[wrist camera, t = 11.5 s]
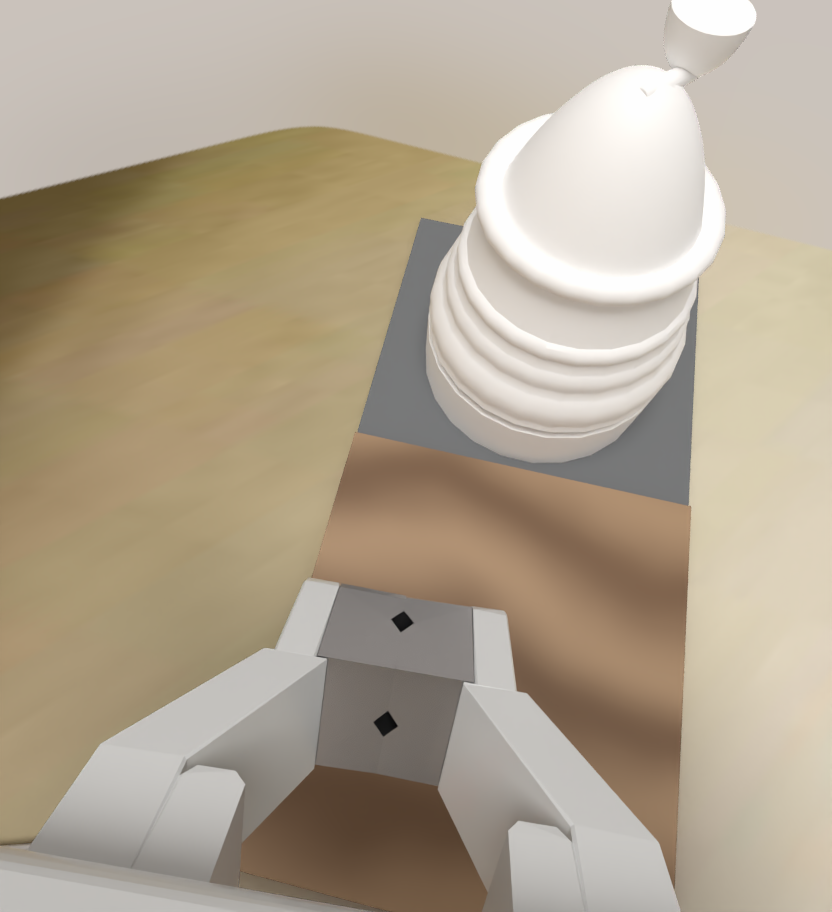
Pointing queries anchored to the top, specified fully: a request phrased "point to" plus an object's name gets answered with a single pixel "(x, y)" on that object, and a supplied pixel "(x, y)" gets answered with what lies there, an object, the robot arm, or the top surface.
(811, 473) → the top surface
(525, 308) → the honey pot
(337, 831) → the cutting board
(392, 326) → the trivet mat
